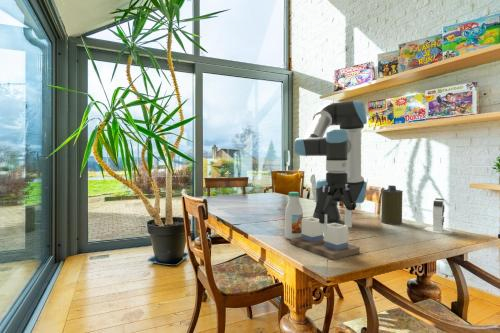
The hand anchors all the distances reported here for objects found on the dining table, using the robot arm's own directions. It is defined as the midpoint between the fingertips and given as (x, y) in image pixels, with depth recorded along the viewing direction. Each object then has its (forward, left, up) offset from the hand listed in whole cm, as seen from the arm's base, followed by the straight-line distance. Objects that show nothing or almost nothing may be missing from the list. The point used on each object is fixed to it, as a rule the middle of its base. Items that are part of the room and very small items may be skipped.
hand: (336, 229), depth 105 cm
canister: (-16, +64, -9) cm, 66 cm away
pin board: (-6, 0, -8) cm, 10 cm away
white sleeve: (0, 0, -6) cm, 6 cm away
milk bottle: (-23, 0, -9) cm, 24 cm away
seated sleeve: (-12, 0, -6) cm, 13 cm away
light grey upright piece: (+6, +66, -9) cm, 67 cm away
